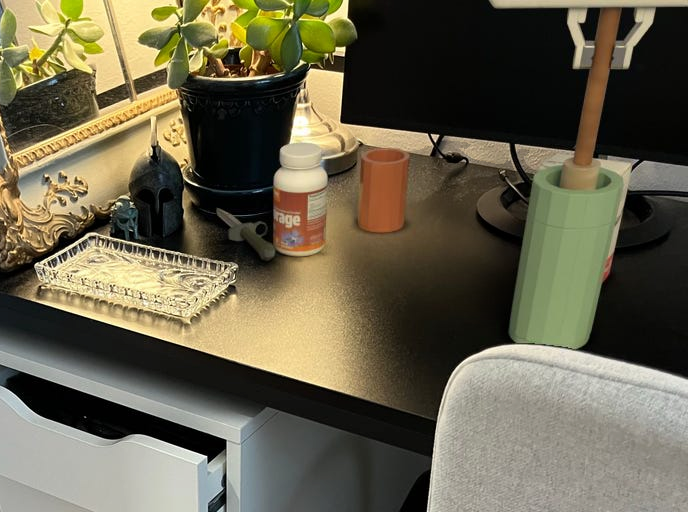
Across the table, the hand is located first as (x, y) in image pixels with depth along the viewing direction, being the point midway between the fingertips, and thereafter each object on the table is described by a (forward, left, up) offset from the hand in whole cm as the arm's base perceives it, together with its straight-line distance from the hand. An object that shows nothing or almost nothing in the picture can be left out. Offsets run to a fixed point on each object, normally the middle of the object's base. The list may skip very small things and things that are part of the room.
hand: (600, 67), depth 85 cm
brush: (0, 0, -15) cm, 15 cm away
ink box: (-2, -15, -24) cm, 28 cm away
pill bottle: (+29, -18, -24) cm, 42 cm away
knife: (+38, -20, -23) cm, 49 cm away
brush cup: (+20, -27, -24) cm, 41 cm away
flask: (0, 0, -24) cm, 24 cm away
